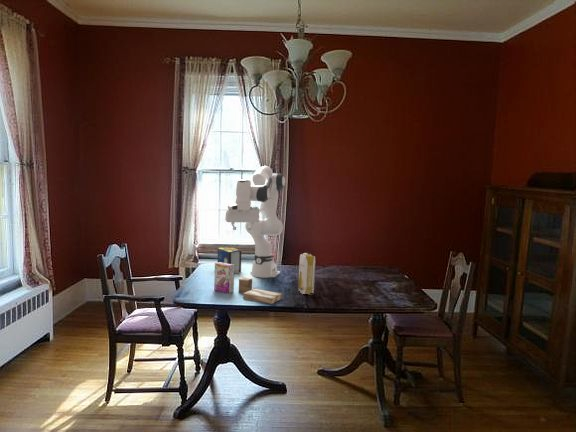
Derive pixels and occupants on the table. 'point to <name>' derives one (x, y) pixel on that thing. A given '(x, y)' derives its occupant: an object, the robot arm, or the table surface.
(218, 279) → the candy bar box
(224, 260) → the protein box
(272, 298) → the plinth
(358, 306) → the table surface
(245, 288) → the walnut block
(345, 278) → the table surface
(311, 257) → the juice carton
